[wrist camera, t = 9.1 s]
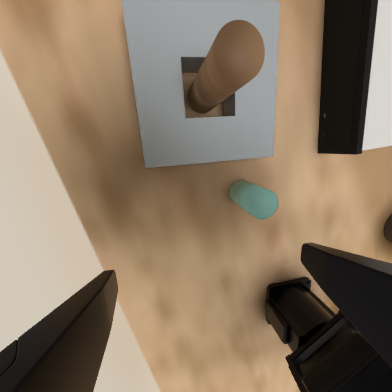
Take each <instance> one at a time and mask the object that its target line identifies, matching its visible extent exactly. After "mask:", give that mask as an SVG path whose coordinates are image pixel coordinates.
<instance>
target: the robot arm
mask: <svg viewBox="0 0 392 392" xmlns="http://www.w3.org/2000/svg"><path fill="white" fill-rule="evenodd" d="M301 262H302V264H303V265H304V266H305V268H306V269H307V270H308V272H309V273H310V274H311V276H312V277H313V278H314V280H315V281H316V282H317V284H318V285H319V286H320V288H321V289H322V290H323V291H324V292H325V294H326V295H327V296H328V297H329V298H330V299H331V300H332V301H333V303H334V304H335V305H336V306H337V307H338V308H339V309H340V310H339V311H338V313H337V314H335V313H334V312H333V311H332V310H331V309H330V308H329V307H328V306H327V305H325V304H324V303H323V302H322V301H321V300H320V299H319V298H318V297H317V296H316V295H315V294H314V293H313V292H312V291H311V290H310V286H311V280H310V279H309V278H302V279H297V280H292V281H288V282H283V283H278V284H273V285H270V286H268V289H267V302H266V321H267V322H268V324H271V325H272V326H273V328H274V330H275V331H276V333H277V334H278V336H279V337H280V339H281V341H282V342H283V343H284V344H288V345H289V347H290V348H291V350H292V352H293V353H291V354H290V355H288V356H286V357H285V358H286V360H287V362H288V364H289V369H290V371H291V373H292V375H293V377H294V379H295V381H296V383H297V385H298V387H299V389H300V391H301V392H392V264H391V263H387V262H383V261H380V260H376V259H372V258H368V257H364V256H360V255H357V254H353V253H349V252H345V251H341V250H338V249H334V248H330V247H326V246H322V245H318V244H315V243H305V244H303V245H302V250H301ZM117 293H118V284H117V279H116V273H115V271H114V270H107V271H103V272H102V273H101V274H100V275H98V276H97V277H96V278H94V279H93V280H92V281H91V282H89V283H88V284H87V285H86V286H84V287H83V288H82V289H80V290H79V291H78V292H76V293H75V294H74V295H73V296H71V297H70V298H69V299H68V300H66V301H65V302H64V303H62V304H61V305H60V306H59V307H57V308H56V309H55V310H53V311H52V312H51V313H50V314H49V315H47V316H46V317H44V318H43V319H42V320H41V321H39V322H38V323H37V324H36V325H34V326H33V327H32V328H30V329H29V330H28V331H27V332H25V333H24V334H23V335H21V336H20V337H19V338H18V340H15V341H14V342H12V343H11V344H10V345H9V346H7V347H6V348H5V349H4V350H2V351H1V352H0V392H93V390H94V386H95V383H96V380H97V376H98V373H99V369H100V366H101V362H102V359H103V355H104V352H105V349H106V345H107V341H108V338H109V335H110V331H111V326H112V321H113V315H114V310H115V303H116V299H117Z"/></svg>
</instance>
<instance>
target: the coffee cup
mask: <svg viewBox="0 0 392 392" xmlns="http://www.w3.org/2000/svg"><path fill="white" fill-rule="evenodd" d="M384 235H385V237H386V239H387V240H389V241H391V242H392V215H391V216H390V217H389V219H388V220H387V222H386V224H385V227H384Z"/></svg>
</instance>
